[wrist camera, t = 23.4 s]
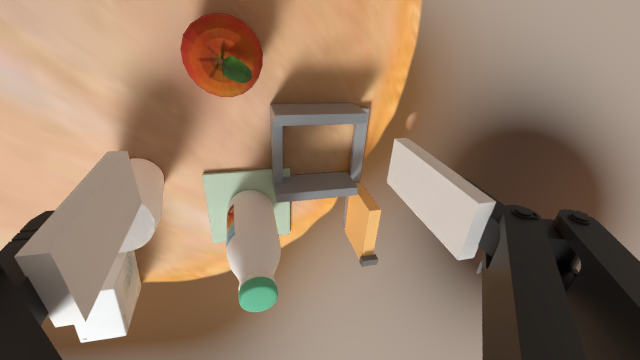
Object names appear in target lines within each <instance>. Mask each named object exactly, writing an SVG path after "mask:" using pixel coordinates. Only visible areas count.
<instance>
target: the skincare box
mask: <svg viewBox="0 0 640 360" xmlns="http://www.w3.org/2000/svg"><path fill="white" fill-rule="evenodd" d="M140 288H141V281H140V276H139V271H138V266H137V261H136V257H135V251H134V250H133V251H129V252H122V253H118V255H117V257H116V259H115V261H114V263H113V265H112V267H111V269H110V272H109V274H108V276H107V278H106V280H105V282H104V284H103V286H102V289H101V291H100V293H99V295H98V297H97V299H96V301H95V303H94V306H93V308H92V310H91V312H90V314H89V316H88V318H87V320H86V322H85V323H79V324H74V325H75V328H76V331H77V334H78V336H79V339H80V342H81V343H83V342H89V341H96V340H102V339H108V338H115V337H121V336H126V335H127V331H128V328H129V325H130V321H131V317H132V314H133V311H134V308H135V304H136V301H137V298H138V295H139V292H140Z"/></svg>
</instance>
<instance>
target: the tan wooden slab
mask: <svg viewBox="0 0 640 360" xmlns="http://www.w3.org/2000/svg"><path fill="white" fill-rule="evenodd" d="M355 184H356V185H357V187H358V192H357V195H354V196H349V199H348V207H347V216H346V225H345V232H346V234H347V236H348V238H349V240H350V242H351V244H352V246H353V248H354V250H355V252H356V254H357V255H358V258H359V260H360V264H361V266H369V265H376V264H377V262H378V258H377V257H376V255H375V254H374V255H373V252H374V247H375V241H376V236H377V230H378V225H379V219H380V214H381V209H380V208H379V206H378V205H377V204H376V202H375V201H374V200H373V198H372V197H371V196H370V194H369V193H368V192H367V190H366V189H365V188H364V186H363V185H362V184H361V183H355Z"/></svg>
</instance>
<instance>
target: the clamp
mask: <svg viewBox="0 0 640 360" xmlns="http://www.w3.org/2000/svg"><path fill="white" fill-rule="evenodd" d="M369 110H370V109H369V108H368V107H359V106H357V105H356V104H355V103H303V104H270V119H271V154H272V177H273V189H274V193H275V198H276V202H277V203H280V202H291V201H301V200H312V199H323V198H333V197H344V196H346V202H345V212H344V220H343V226H344V228H345V225H346V216H347V207H348V199H349V196H354V195H357V192H358V187H357V185H356V184H355V183H360V177H361V170H362V163H363V155H364V148H365V140H366V133H367V125H368V118H369ZM331 124H354V130H353V139H352V148H351V157H350V166H349V174H348V173H347V171H343V172H329V173H315V174H301V175H290V177H283V130H282V126H299V125H331Z"/></svg>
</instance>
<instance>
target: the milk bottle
mask: <svg viewBox="0 0 640 360" xmlns="http://www.w3.org/2000/svg"><path fill="white" fill-rule="evenodd" d="M226 246H227V258H228V262H229V265H230V267H231V269H232V271H233V272H234V274H235V275H236V276H237V278H238V280H239V282H240V285H239V302H240V305H241V307H242V308H243V309H245V310H247V311H251V312H260V311H263V310H266V309H268V308H270V307H271V306H272V305H273V304H274V303H275V302H276V300H277V296H278V292H277V286H276V281H275V279H274V273H275V270H276V268H277V266H278V263H279V259H280V241H279V235H278V230H277V225H276V220H275V215H274V210H273V206H272V203H271V200H270V199H269V197H268V196H266V195H265V194H264V193H262V192H259V191H256V190H245V191H242V192H240V193H238V194H236V195H235V196H234V197H233V198H232V199H231V200H230V202H229V204H228V207H227V234H226Z"/></svg>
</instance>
